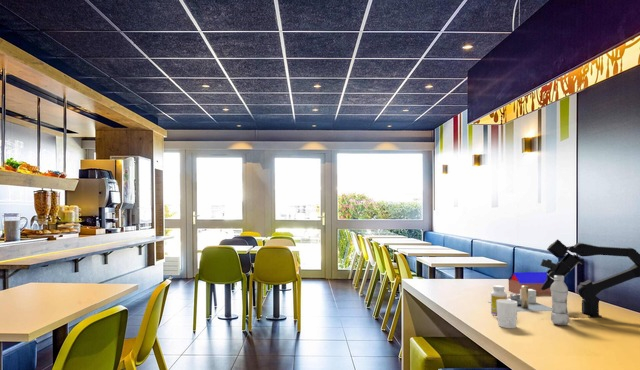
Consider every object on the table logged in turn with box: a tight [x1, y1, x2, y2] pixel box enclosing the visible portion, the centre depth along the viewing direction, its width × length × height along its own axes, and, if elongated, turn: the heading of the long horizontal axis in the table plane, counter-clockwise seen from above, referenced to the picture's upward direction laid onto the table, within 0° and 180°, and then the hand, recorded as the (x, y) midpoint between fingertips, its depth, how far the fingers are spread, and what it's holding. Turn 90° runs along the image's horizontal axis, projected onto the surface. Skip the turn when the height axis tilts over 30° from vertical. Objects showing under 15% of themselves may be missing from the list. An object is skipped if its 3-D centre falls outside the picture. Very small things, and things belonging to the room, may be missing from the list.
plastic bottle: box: [550, 275, 570, 326], centre depth 176 cm, size 6×7×20 cm
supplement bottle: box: [490, 284, 508, 317], centre depth 191 cm, size 7×7×13 cm
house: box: [507, 271, 551, 296], centre depth 243 cm, size 12×20×12 cm, turn 98°
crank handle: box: [507, 285, 529, 308], centre depth 206 cm, size 15×9×10 cm, turn 6°
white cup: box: [496, 299, 518, 329], centre depth 174 cm, size 8×8×10 cm
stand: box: [488, 289, 552, 313], centre depth 205 cm, size 20×24×7 cm
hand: (541, 289), depth 199 cm, fingers closed
